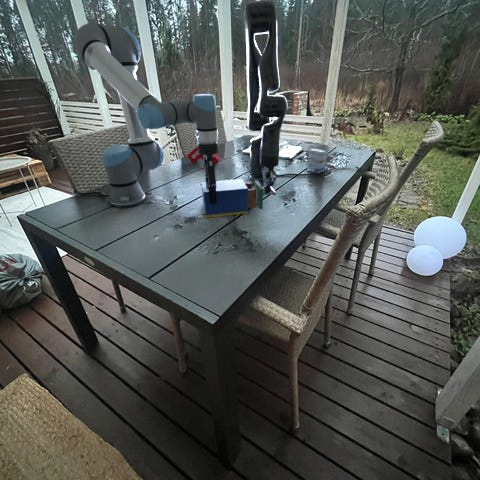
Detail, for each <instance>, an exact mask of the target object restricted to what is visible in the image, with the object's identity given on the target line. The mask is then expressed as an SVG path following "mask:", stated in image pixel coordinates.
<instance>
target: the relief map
mask: <svg viewBox="0 0 480 480" xmlns="http://www.w3.org/2000/svg"><path fill="white" fill-rule="evenodd" d="M302 147H303V146H294V145H292V144H290V143H289V142H288V141H284V142H282V143H280V152H279V159H286V160H287V159H288V160H292V159H293V158H295V157H296V156H297V155H298V154H299V153H300V152H302V151H303V150H304V148H303V149H302ZM250 148H251V145H250V146H249V147H248V148H247V149H245V150H242V153H243V154H247V155H248V154H249V155H250ZM296 153H297V154H296Z"/></svg>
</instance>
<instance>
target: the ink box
mask: <svg viewBox="0 0 480 480" xmlns="http://www.w3.org/2000/svg"><path fill="white" fill-rule="evenodd" d="M327 153H328V151H327V150H323V149H318V148H311V149H310V150H309V151H308V159H307V167H306V171H308V172H311V173H317V172H316V171H322V170H324V171H325V165H326V159H327ZM308 169H311V170H308ZM312 170H315V171H312Z"/></svg>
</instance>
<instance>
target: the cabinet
mask: <svg viewBox="0 0 480 480" xmlns="http://www.w3.org/2000/svg"><path fill="white" fill-rule="evenodd" d="M245 183H246V182H245V181H244V180H243V178H239V179H237V178H236V179H226V180H216V186H217V188H216V198H217V203H215V204H210V200H209V189H207V187H209V182H206V181H201V182H200V185H201V196H202V206H203V211H204V216H205V219H207V218H215V217H216V218H217V217H227V216H237V215H245V214H248V213H249V210H248V188H247V186H246V185H245Z"/></svg>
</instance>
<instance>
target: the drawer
mask: <svg viewBox="0 0 480 480" xmlns="http://www.w3.org/2000/svg"><path fill="white" fill-rule="evenodd" d="M244 183H245V185H246V186H247V188H248V209H256V208H257V207H258V208H259V210H263V208H264V196H269V195H270V196H271V195H273V196H276V195H277V192H276V191H275V190H274V188H273V186H271V191H270V193H264V189H265V186H262V185H261V183H260V182H259V181H257V180H254V187H253V182H251V181H250V182H244Z"/></svg>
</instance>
